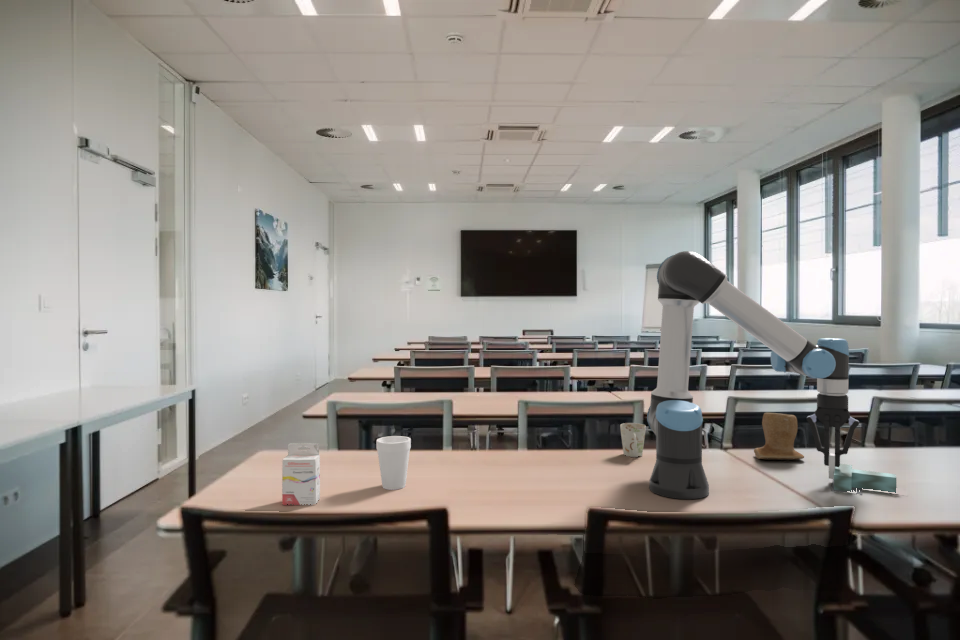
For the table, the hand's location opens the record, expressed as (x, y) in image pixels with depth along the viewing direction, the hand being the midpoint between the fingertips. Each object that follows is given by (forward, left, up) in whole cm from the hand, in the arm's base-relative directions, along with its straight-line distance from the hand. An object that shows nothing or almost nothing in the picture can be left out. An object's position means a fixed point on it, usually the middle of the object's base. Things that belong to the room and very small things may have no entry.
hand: (831, 477), depth 166 cm
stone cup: (-16, +22, -2) cm, 27 cm away
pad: (+9, 0, -1) cm, 9 cm away
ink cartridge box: (-113, -90, -2) cm, 145 cm away
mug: (-56, 0, -2) cm, 56 cm away
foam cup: (-102, -67, -2) cm, 122 cm away
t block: (+8, 0, -1) cm, 8 cm away
